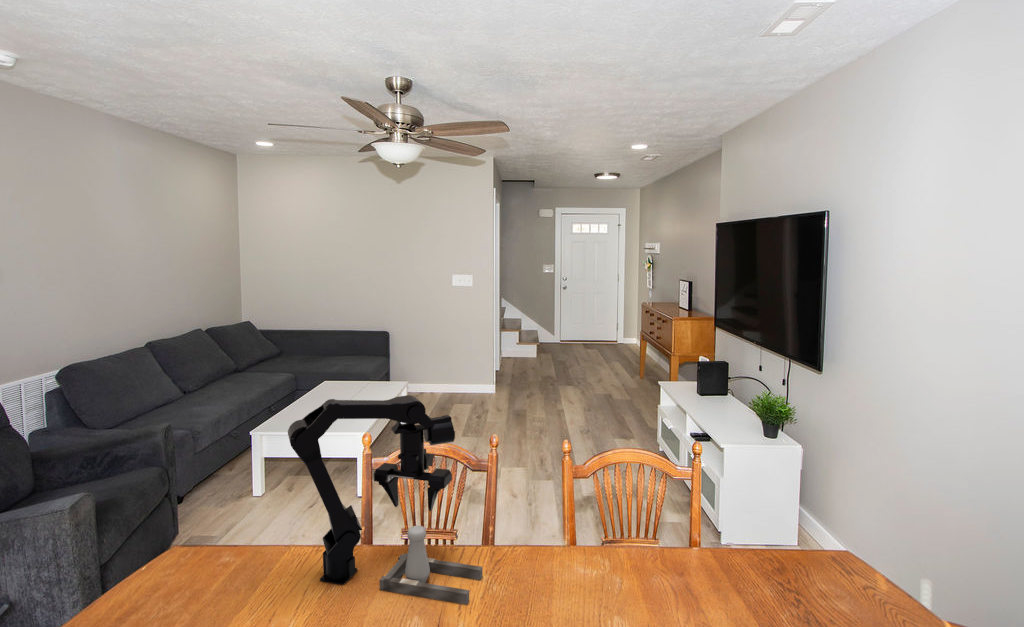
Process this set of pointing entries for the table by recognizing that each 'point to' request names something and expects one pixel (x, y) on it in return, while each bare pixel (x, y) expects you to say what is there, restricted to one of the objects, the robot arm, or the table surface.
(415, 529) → the salt shaker
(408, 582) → the guide rails
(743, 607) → the table surface
